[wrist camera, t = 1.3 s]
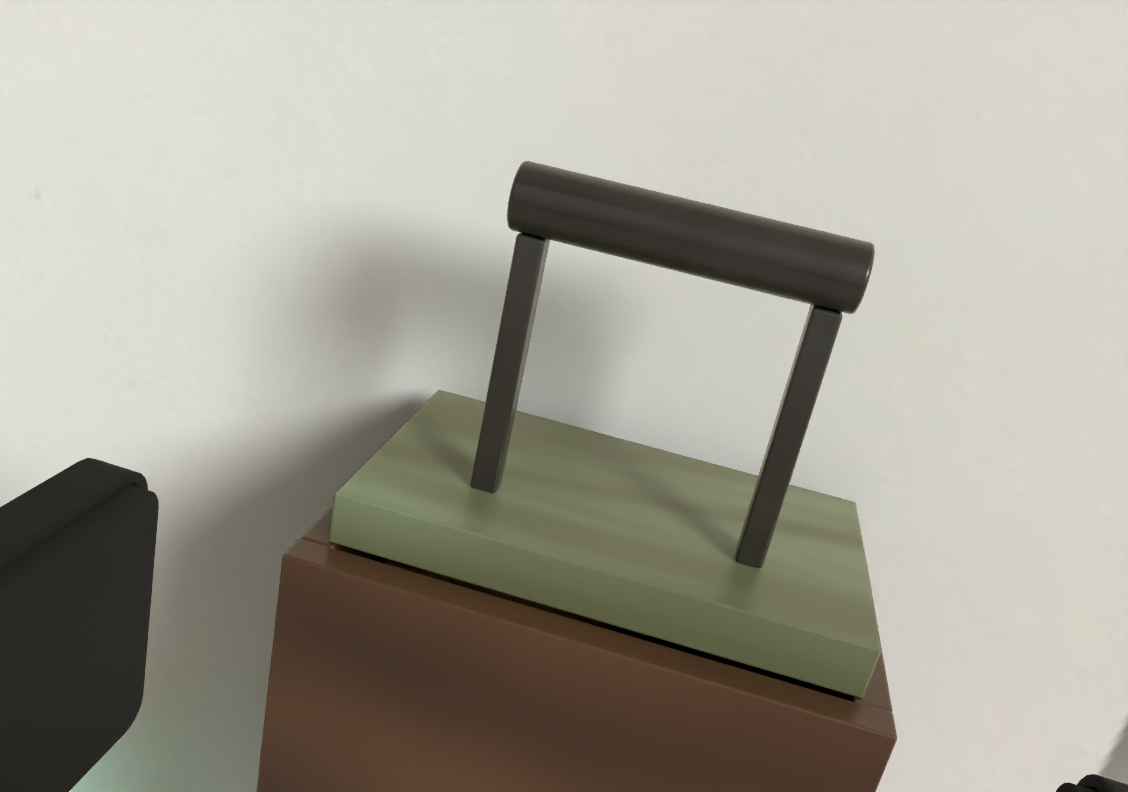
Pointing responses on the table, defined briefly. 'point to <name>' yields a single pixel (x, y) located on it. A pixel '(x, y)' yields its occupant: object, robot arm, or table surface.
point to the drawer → (638, 464)
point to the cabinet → (527, 698)
